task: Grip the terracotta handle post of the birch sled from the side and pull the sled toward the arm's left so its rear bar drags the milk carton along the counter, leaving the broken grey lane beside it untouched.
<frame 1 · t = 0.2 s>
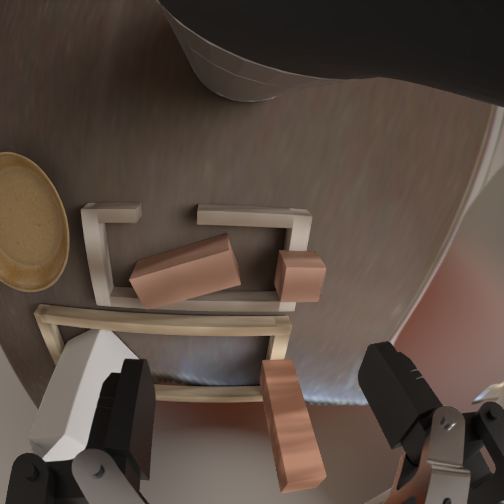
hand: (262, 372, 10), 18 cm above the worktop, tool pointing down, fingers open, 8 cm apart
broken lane: (165, 254, 27), on the worktop
sled: (155, 415, 25), point 9 cm above the worktop, slide at 0.0 cm
plant saucer: (23, 217, 23), on the worktop
milk carton: (104, 349, 32), resting in sled
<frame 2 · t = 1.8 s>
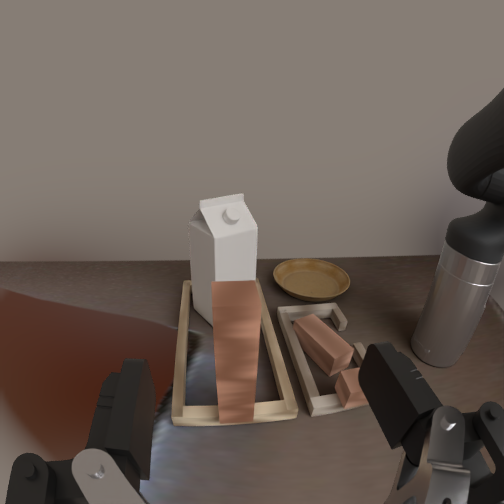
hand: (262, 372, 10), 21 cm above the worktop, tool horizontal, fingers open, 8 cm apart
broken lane: (319, 342, 41), on the worktop
sled: (225, 292, 37), point 9 cm above the worktop, slide at 0.0 cm
plant saucer: (310, 288, 56), on the worktop
milk carton: (223, 313, 47), resting in sled
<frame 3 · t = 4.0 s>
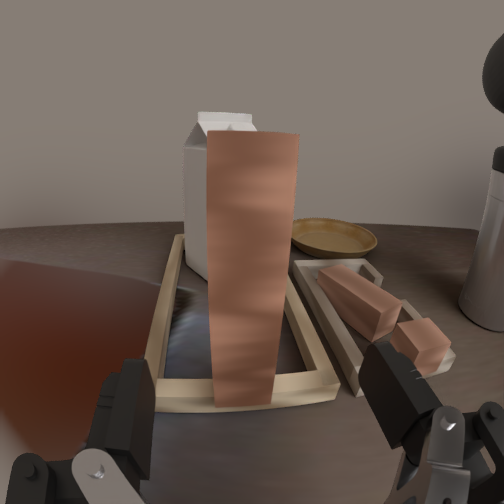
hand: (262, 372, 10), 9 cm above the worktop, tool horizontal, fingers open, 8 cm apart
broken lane: (351, 302, 31), on the worktop
sled: (227, 222, 27), point 9 cm above the worktop, slide at 0.0 cm
plant saucer: (329, 248, 46), on the worktop
milk carton: (223, 270, 37), resting in sled
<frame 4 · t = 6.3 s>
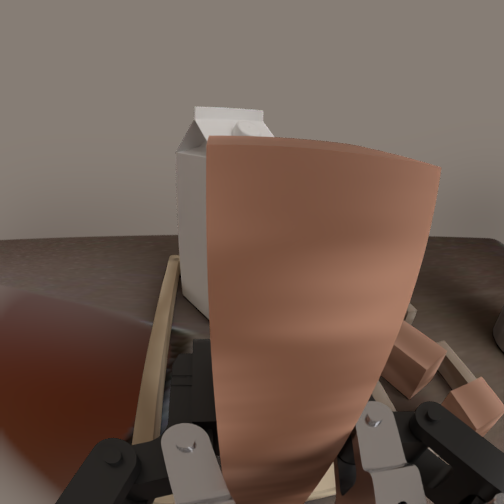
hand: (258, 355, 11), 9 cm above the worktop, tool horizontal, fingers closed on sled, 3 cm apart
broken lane: (382, 344, 24), on the worktop
sled: (235, 256, 20), point 9 cm above the worktop, slide at 0.0 cm, touching gripper
milk carton: (228, 302, 31), resting in sled
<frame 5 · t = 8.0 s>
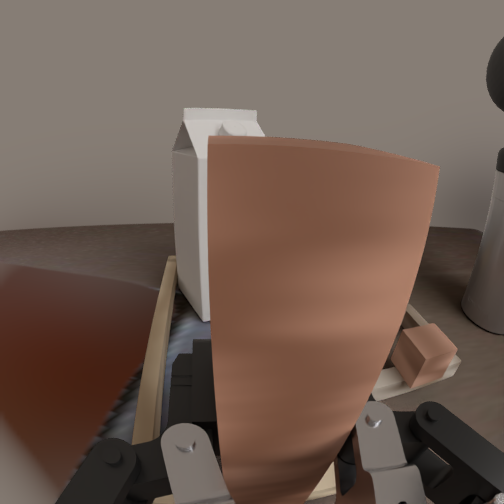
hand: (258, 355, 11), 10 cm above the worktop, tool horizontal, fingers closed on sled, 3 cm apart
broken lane: (354, 306, 30), on the worktop
sled: (234, 257, 20), point 9 cm above the worktop, slide at 6.5 cm, touching gripper, milk carton
milk carton: (220, 298, 31), resting in sled
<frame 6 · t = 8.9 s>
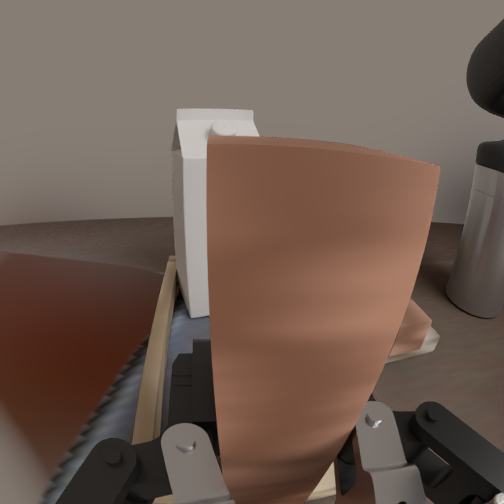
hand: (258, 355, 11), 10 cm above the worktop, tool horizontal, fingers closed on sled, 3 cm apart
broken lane: (342, 289, 34), on the worktop
sled: (234, 257, 20), point 9 cm above the worktop, slide at 10.2 cm, touching gripper, milk carton
milk carton: (215, 296, 32), resting in sled
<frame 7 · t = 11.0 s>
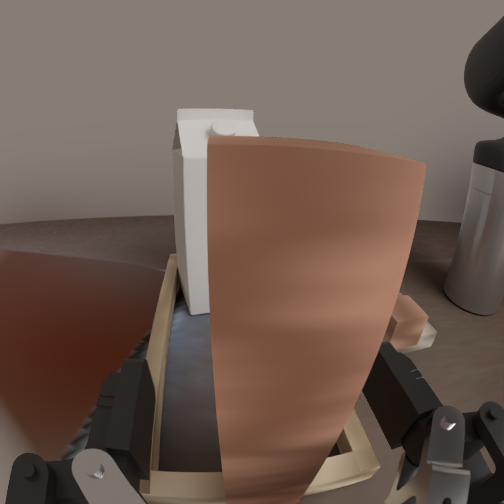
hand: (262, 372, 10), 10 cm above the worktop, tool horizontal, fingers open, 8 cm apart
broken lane: (340, 286, 34), on the worktop
sled: (234, 254, 21), point 9 cm above the worktop, slide at 10.4 cm
milk carton: (215, 294, 32), resting in sled
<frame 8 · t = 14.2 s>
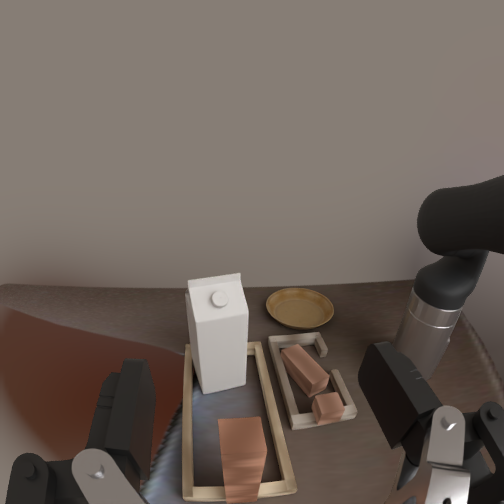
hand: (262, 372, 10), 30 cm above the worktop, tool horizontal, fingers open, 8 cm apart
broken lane: (303, 367, 48), on the worktop
sled: (229, 381, 35), point 9 cm above the worktop, slide at 10.4 cm
plant saucer: (298, 315, 63), on the worktop
milk carton: (218, 376, 46), resting in sled
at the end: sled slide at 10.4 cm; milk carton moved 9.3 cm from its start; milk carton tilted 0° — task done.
